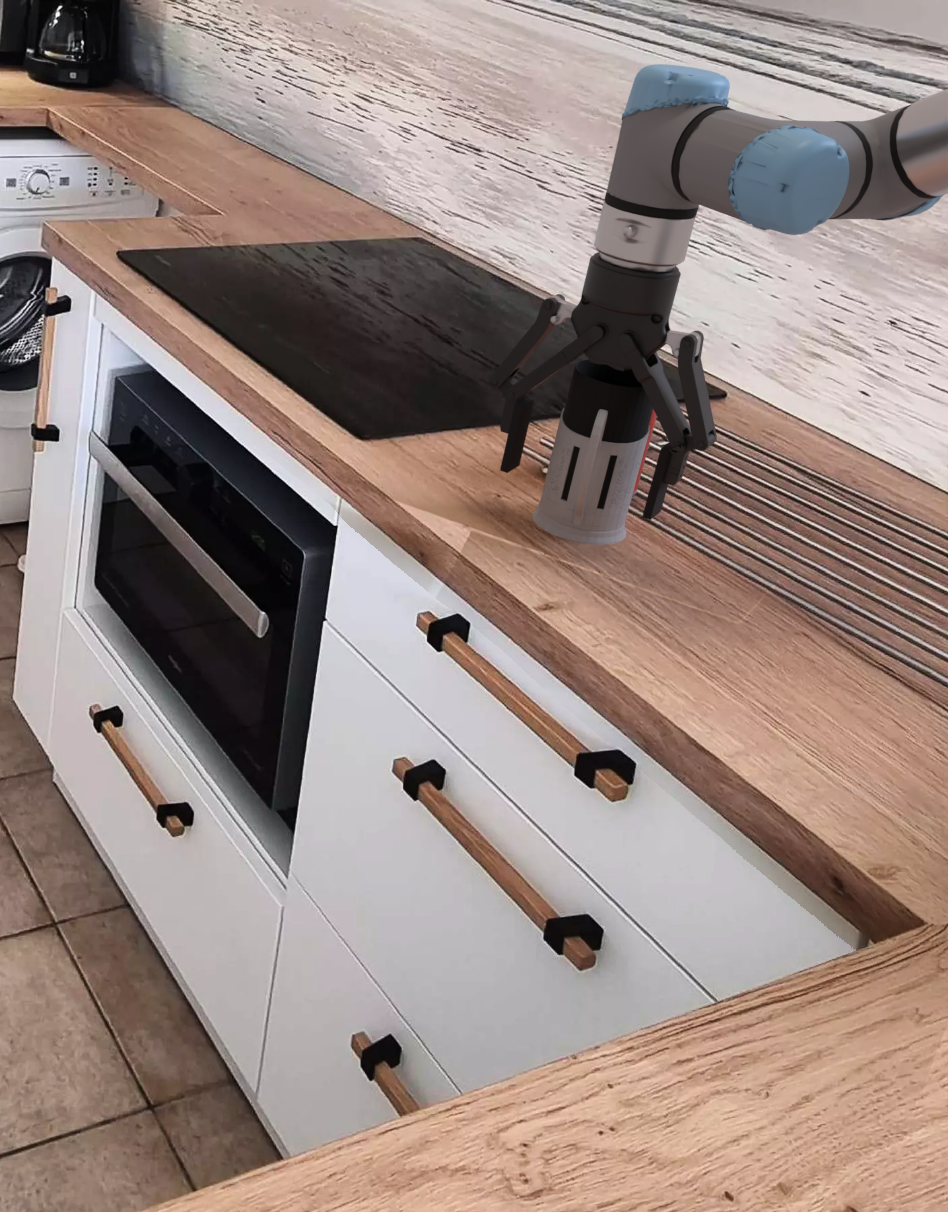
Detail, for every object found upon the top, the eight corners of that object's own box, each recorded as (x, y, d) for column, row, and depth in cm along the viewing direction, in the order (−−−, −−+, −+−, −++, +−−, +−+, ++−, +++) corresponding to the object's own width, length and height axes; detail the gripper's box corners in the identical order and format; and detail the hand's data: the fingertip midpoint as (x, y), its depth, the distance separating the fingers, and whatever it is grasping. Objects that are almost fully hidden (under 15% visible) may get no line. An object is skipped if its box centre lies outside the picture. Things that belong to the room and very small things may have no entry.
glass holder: (631, 521, 150) (672, 370, 143) (612, 578, 138) (656, 416, 131) (539, 499, 152) (575, 349, 145) (513, 553, 140) (550, 393, 133)
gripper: (483, 231, 137) (436, 459, 146) (772, 304, 125) (700, 547, 134) (518, 219, 142) (471, 440, 152) (798, 288, 130) (727, 523, 140)
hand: (578, 491), depth 143 cm, fingers open, 13 cm apart
